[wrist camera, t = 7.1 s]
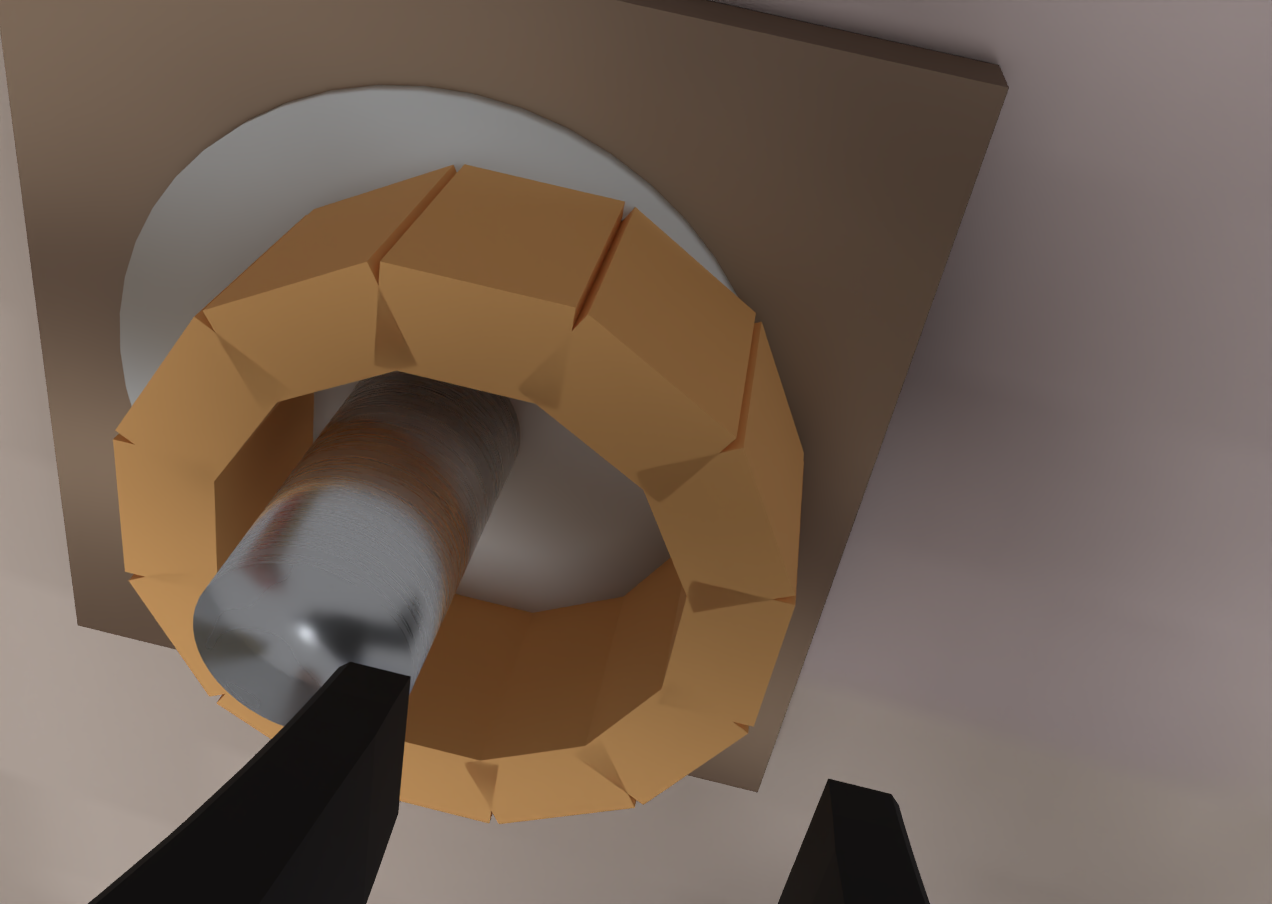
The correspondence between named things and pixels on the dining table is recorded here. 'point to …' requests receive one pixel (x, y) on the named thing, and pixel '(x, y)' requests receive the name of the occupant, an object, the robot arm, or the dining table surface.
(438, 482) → the steel shaft
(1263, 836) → the dining table surface
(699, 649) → the wooden ring
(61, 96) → the walnut base plate
